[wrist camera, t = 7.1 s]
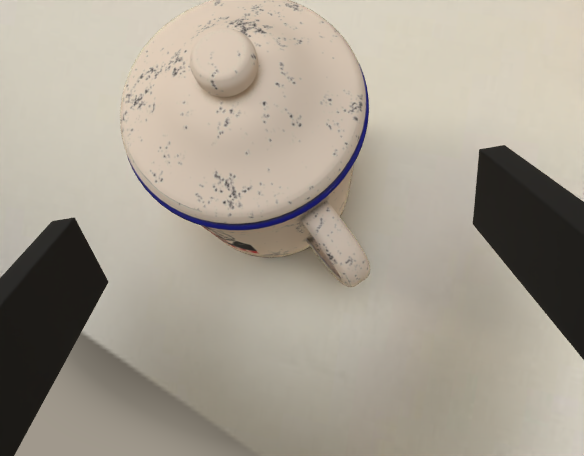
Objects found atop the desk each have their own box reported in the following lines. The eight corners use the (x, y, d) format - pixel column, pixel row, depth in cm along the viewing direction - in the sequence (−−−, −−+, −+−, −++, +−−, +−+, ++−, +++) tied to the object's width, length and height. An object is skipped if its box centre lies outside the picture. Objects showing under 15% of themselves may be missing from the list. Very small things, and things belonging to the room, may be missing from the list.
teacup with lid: (165, 169, 24) (18, 32, 12) (291, 82, 24) (260, -125, 13) (283, 342, 21) (231, 371, 10) (421, 240, 21) (527, 153, 10)
